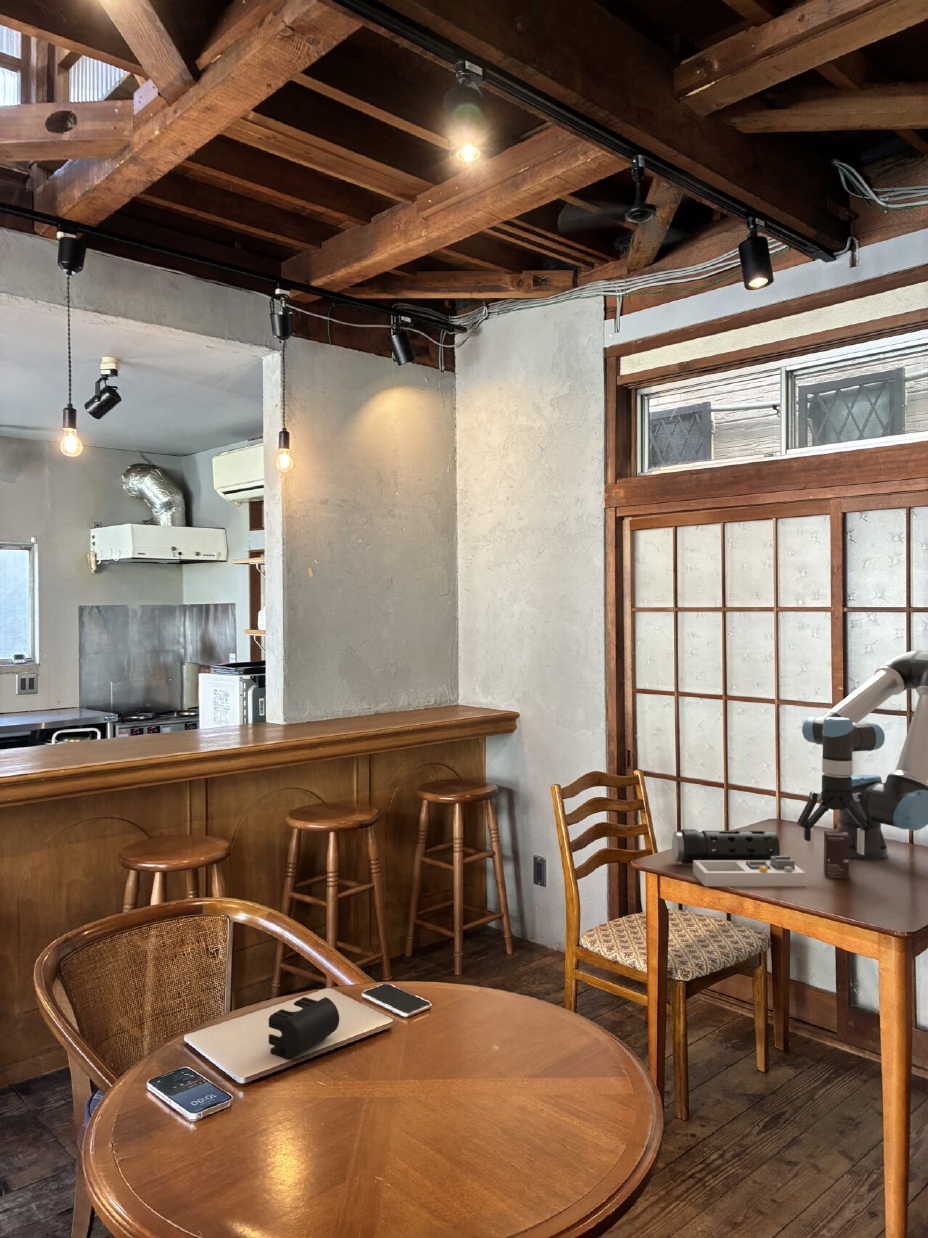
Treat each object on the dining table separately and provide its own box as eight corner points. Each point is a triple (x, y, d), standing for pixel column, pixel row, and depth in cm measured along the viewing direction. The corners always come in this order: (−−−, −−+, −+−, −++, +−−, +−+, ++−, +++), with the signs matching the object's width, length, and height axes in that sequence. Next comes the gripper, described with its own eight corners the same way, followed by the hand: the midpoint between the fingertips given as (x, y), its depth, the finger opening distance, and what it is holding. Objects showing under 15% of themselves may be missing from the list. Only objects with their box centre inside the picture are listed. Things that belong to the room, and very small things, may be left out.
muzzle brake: (780, 872, 249) (780, 834, 248) (678, 871, 249) (678, 834, 249) (769, 862, 258) (769, 826, 258) (671, 861, 259) (671, 825, 258)
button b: (763, 874, 243) (763, 859, 243) (769, 879, 239) (769, 864, 239) (746, 874, 243) (746, 859, 243) (751, 879, 239) (751, 864, 239)
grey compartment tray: (788, 872, 247) (788, 856, 247) (805, 886, 235) (805, 869, 235) (692, 872, 247) (693, 856, 247) (704, 886, 235) (704, 869, 235)
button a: (788, 869, 243) (788, 853, 243) (794, 874, 239) (794, 858, 239) (770, 869, 243) (770, 854, 243) (776, 874, 239) (776, 858, 239)
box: (826, 879, 242) (826, 834, 241) (823, 874, 246) (823, 830, 246) (850, 880, 240) (850, 835, 240) (846, 875, 245) (847, 831, 245)
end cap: (299, 1066, 142) (299, 1024, 142) (266, 1054, 146) (266, 1013, 146) (340, 1040, 151) (340, 1000, 151) (308, 1030, 154) (308, 991, 154)
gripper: (876, 773, 247) (874, 850, 247) (785, 771, 246) (784, 849, 247) (889, 778, 239) (888, 857, 239) (796, 776, 239) (794, 856, 239)
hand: (835, 853), depth 243 cm, fingers open, 13 cm apart
